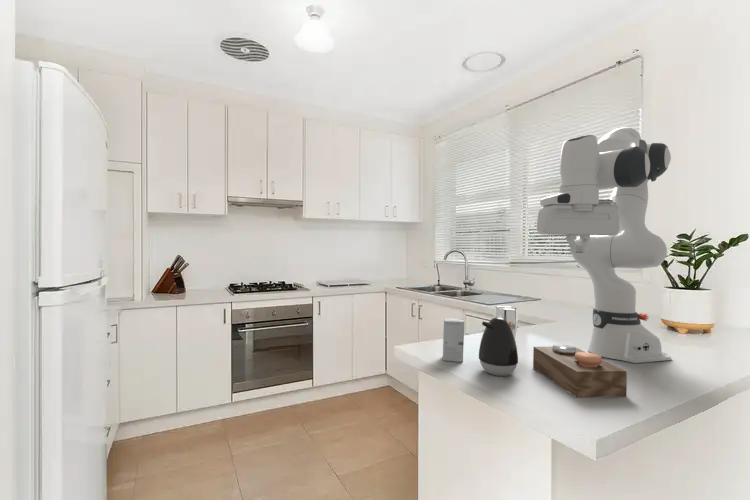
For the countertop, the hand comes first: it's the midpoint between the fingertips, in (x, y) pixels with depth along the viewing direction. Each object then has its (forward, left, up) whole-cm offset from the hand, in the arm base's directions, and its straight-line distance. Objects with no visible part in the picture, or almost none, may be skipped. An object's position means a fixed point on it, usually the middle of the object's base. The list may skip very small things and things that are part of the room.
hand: (577, 252), depth 92 cm
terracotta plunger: (0, +5, -30) cm, 30 cm away
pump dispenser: (+18, -6, -33) cm, 38 cm away
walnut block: (0, 0, -33) cm, 33 cm away
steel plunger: (0, -5, -31) cm, 31 cm away
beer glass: (+9, -22, -33) cm, 41 cm away
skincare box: (+27, -18, -33) cm, 47 cm away
